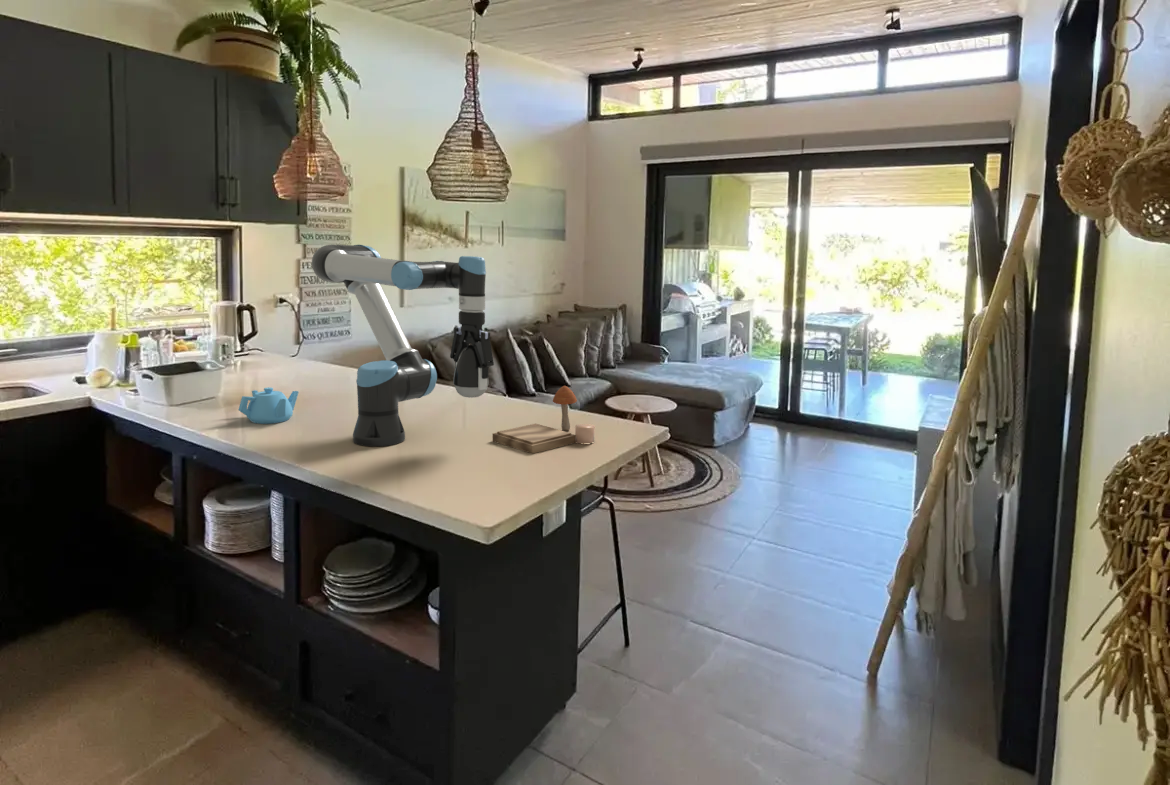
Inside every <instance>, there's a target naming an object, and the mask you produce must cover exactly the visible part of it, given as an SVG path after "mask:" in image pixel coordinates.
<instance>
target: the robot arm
mask: <svg viewBox="0 0 1170 785" xmlns="http://www.w3.org/2000/svg"><path fill="white" fill-rule="evenodd" d="M311 267H312V271H313V272H314V274H315V276H317V277H318V278H319V279H320V280H321V281H324V282H328V283H343V284H344V285H345V288H346V290H347V292H348V293H350V294H352V295H355V298H356V299H357V302H358V304H359V306H360V309H361V310H362V312H363V314H364V317H365V319H366V321H367V323H368V325H369V326H370V329H371V331H372V333H373V335H374V337H375V339H376V342H377V343H378V346H379V348H380V349H381V352H382V353H383V356H384V360H377V361H376V360H374V361H370V362H367V363H364V364H362V365H360V366H359V367H358V368H357V372H356V379H355V380H356V389H357V390H356V393H357V394H356V395H357V413H358V414H357V418H356V422H355V426H354V428H353V433H352V442H353V443H354V444H356V445H359V446H365V447H386V446H393V445H397V444H400V443H402V442H404V441H405V440H406V431H405V429H404V425H403V423H402V420H401V418H400V414H399V403H400V402H405V401H409V400H410V401H411V400H415V399H420V398H421V399H422V398H423V397H426V396H428V395H430V394H431V393H432V392H433V391H434V390H435V387H436V384H437V381H438V380H437V379H438V373H437V370H436V367H435V365H434V364H433V363H432V362H431V361H430V360H428V359H426V358H422V356H421V354H420V351H419V350H418V349H414V348H412V346H411V345H410V342H409V340H408V338H407V336H406V335H405V332H404V330H403V328H402V326H401V324H400V322H399V320H398V318H397V316H396V313H395V312H394V310H393V307H392V305H391V303H390V301H389V299H388V297H387V295H386V292H385V291H384V288H383V287H382V285H383V286H391V287H396V288H398V289H399V290H405V291H406V290H407V291H410V290H411V291H413V290H421V289H422V290H423V289H456V290H457V289H458V309H459V310H460V311H459V310H458V324H459V325H460V326H455V327H453V338H452V339H453V340H452V345H451V349H450V354H449V358H450V359H453V361H454V369H455V368H456V365H457V361H458V358H459V356H460V353H461V351H462V350H463V349H464V347H466V346H468V345H472V346H474V348H475V351H476V354H477V357H478V360H479V363H480V366H479V371H478V390H484V389H486V390H487V389H488V385H487V378H488V379H489V368H490V367H491V366H494V365H495V362H494V356H493V351H492V347H491V345H492V344H491V340H490V339H491V332H490V331H484V330H483V325H485V322H486V312H485V310H486V293H485V292H486V274H487V271H486V269H487V268H486V261H485V258H484V257H482V256H473V255H472V256H471V255H470V256H469V255H462V256H460V257H459V258H458V262H451V261H443V260H433V261H412V260H411V261H410V260H401V259H392V258H391V259H390V258H386V257H385V258H383V257H381V255H380V253H379V252H378V251H377V249H375V248H373V247H372V246H369V245H363V244H352V245H351V244H350V245H349V244H326V245H324V246H321V247H319V248H318V249H317V250H316V251H314V253H313V256H312V258H311Z"/></svg>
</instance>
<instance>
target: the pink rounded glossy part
mask: <svg viewBox="0 0 1170 785" xmlns="http://www.w3.org/2000/svg"><path fill="white" fill-rule="evenodd" d="M574 428H575V430H574V432H575V433H574V435H576V442H577V443H576V444H578V443H592V442H594V443H595V440H596V438H595V435H596V432H595V430H596V426H595V425H594V424H591V423H578V424H576V425H575V427H574Z"/></svg>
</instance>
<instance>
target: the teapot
mask: <svg viewBox="0 0 1170 785" xmlns="http://www.w3.org/2000/svg"><path fill="white" fill-rule="evenodd" d="M299 393H300V392H299V390H292V392H291V393H290V395H289V396H288V397H287V396H286V395H285V393H283V392H282V391H280V390H274V387H272V386H271V387H270V386H269V387H264V388H263V391H258V390H257V389H253V390H251V394H252V396H246V395H245V396H244V395H242V396H241V400H240V402H239V407H238V411H239V412H240V413H242V414H244V415H245V416H246V417H247V419H248V420H249V421H250V422H252V423H254V424H261V425H270V424H278V423H279V424H280V423H284V422H287V421H288V420H290V418H291V417H292V416H293V414H294V410H295V406H296V402H297V399H298V396H299Z"/></svg>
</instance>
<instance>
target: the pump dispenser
mask: <svg viewBox="0 0 1170 785" xmlns="http://www.w3.org/2000/svg"><path fill="white" fill-rule="evenodd" d="M479 366H480V363H479V360H478V357H477V354H476V351H475V348H474V346H472V344H469V345H468V346H466V347H464V349H463V350H462V351H461V353H460V356H459V358H458V361H457V365H456V368H455V367H454V374H453V385H454V389H455V390H456V393H457V394H458V395H460V396H461V397H463V398H471V399H472V398H479V397H481V396H483V395H484V394H485V392H486V391H487V389H484V390H478V371H479ZM487 386H489V377H488V378H487Z"/></svg>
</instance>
